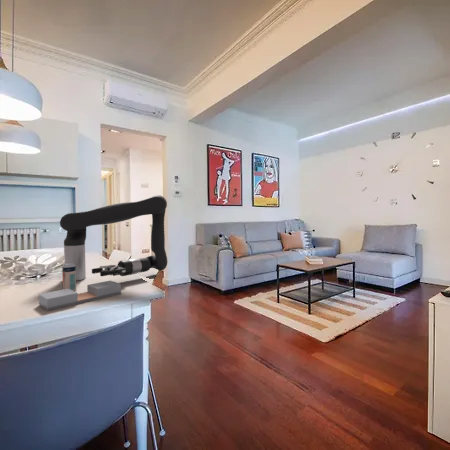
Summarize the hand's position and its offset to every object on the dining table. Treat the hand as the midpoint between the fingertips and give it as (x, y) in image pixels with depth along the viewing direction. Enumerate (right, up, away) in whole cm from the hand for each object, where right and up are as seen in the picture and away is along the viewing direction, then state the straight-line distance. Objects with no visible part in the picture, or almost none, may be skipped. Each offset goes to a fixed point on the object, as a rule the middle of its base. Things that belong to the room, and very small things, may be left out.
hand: (96, 272), depth 119 cm
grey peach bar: (+3, -7, -17) cm, 19 cm away
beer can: (-7, -7, -8) cm, 13 cm away
